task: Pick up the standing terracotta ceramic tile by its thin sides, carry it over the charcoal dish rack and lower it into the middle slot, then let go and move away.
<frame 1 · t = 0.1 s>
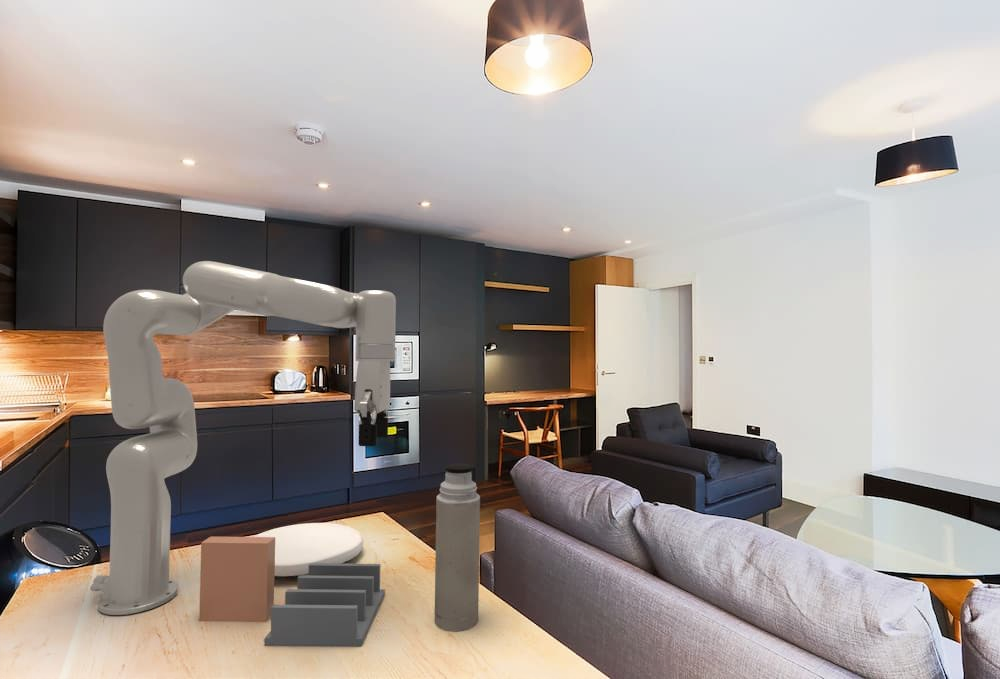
hand: (373, 441, 99), 31 cm above the table, tool pointing down, fingers open, 9 cm apart
dish rack: (330, 618, 92), on the table
plate: (302, 560, 118), on the table
thermos bottle: (456, 620, 92), on the table
tile: (237, 617, 92), on the table
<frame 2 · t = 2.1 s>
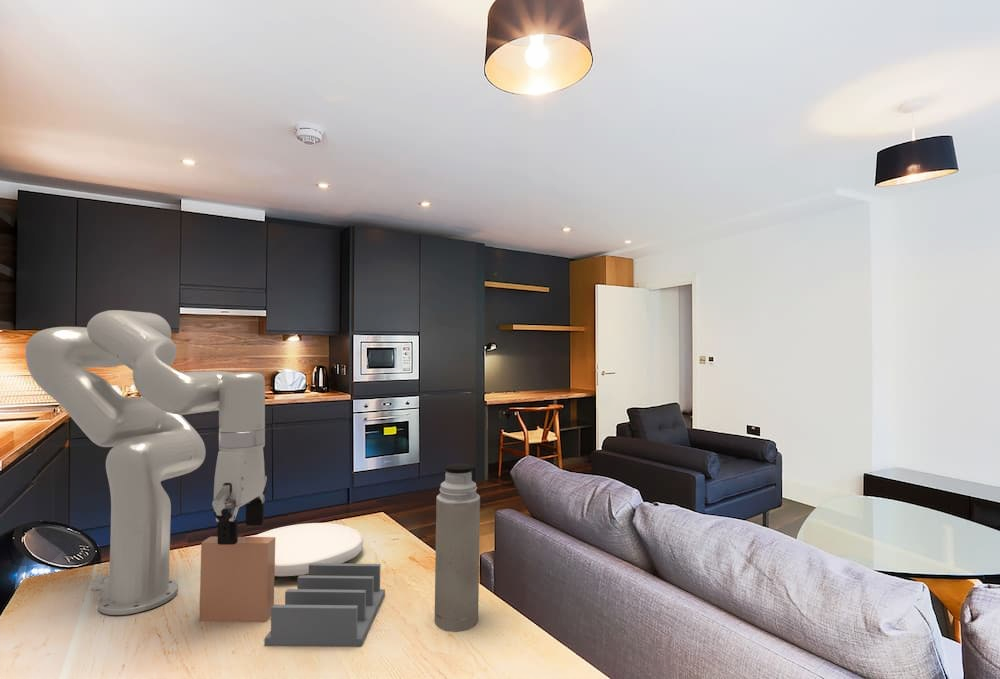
hand: (241, 533, 92), 15 cm above the table, tool pointing down, fingers open, 9 cm apart
nothing on the table moved.
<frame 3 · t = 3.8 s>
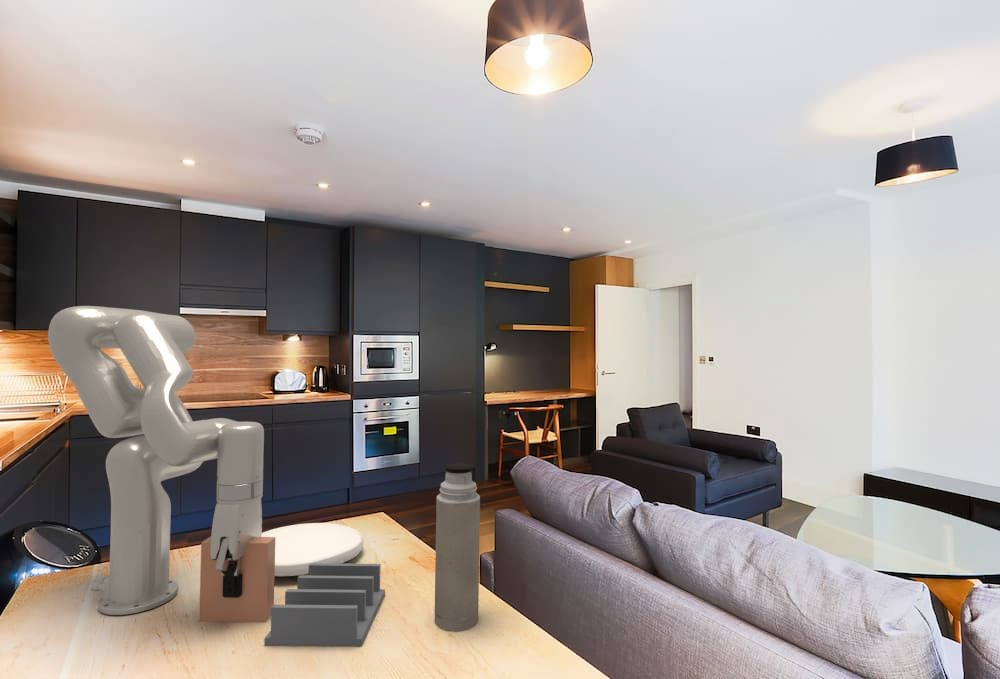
hand: (237, 590, 92), 5 cm above the table, tool pointing down, fingers closed on tile, 3 cm apart
tile: (237, 617, 92), on the table, touching gripper
everything else where it was.
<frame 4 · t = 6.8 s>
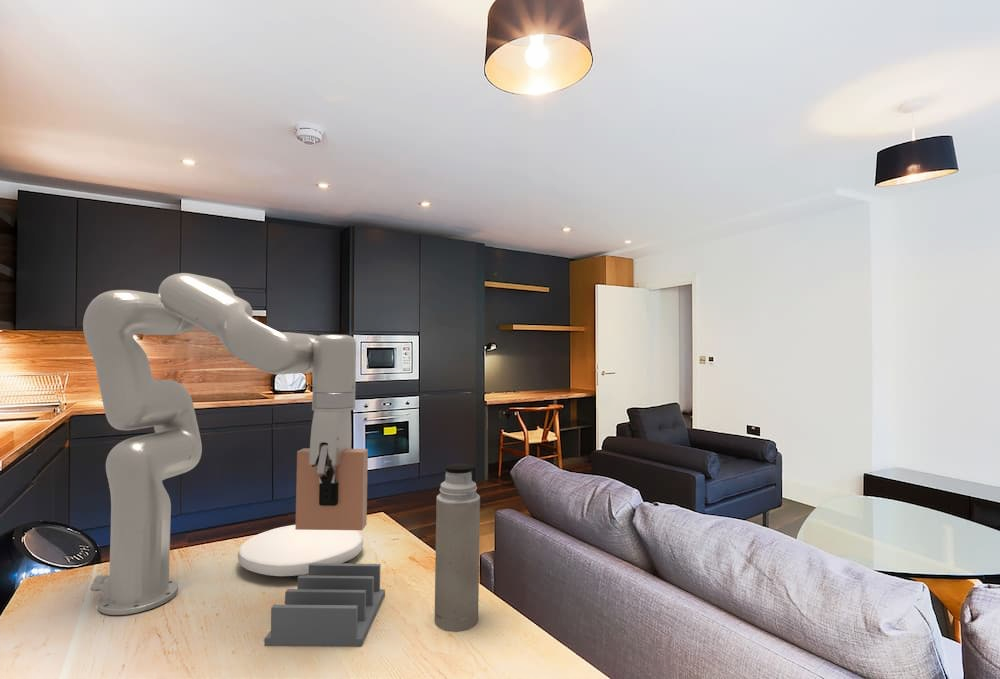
hand: (331, 501, 93), 21 cm above the table, tool pointing down, fingers closed on tile, 3 cm apart
tile: (331, 527, 93), point 16 cm above the table, touching gripper
everything else where it was.
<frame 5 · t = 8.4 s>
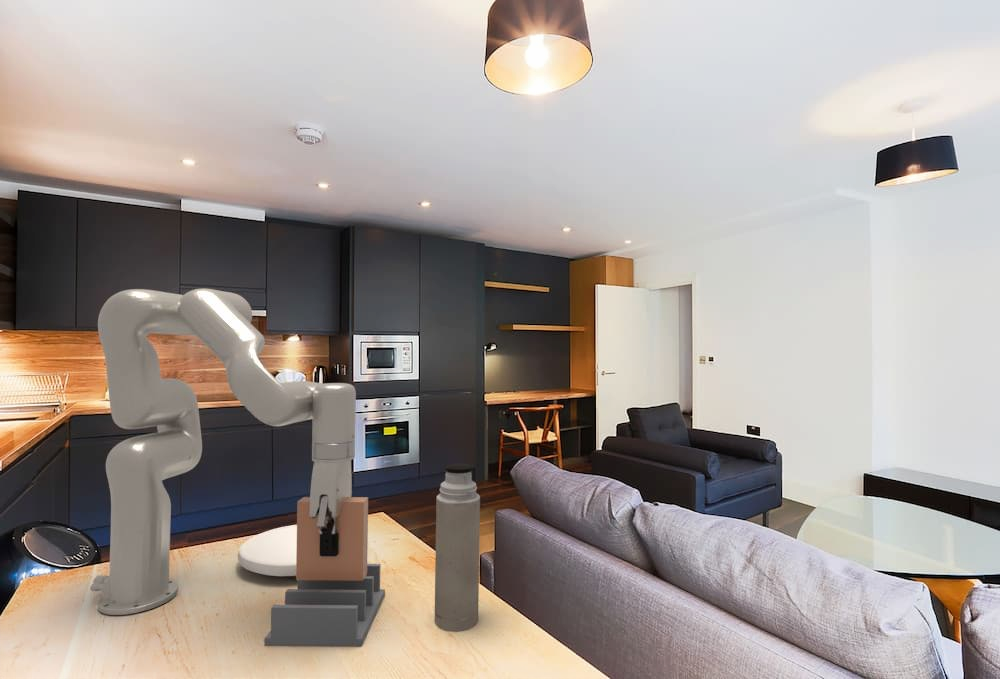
hand: (332, 550, 93), 12 cm above the table, tool pointing down, fingers closed on tile, 3 cm apart
tile: (332, 576, 92), point 7 cm above the table, touching gripper
everything else where it was.
when the fingers open (8 cm above the table, at t = 9.9 s): tile drops 2 cm, resting on dish rack.
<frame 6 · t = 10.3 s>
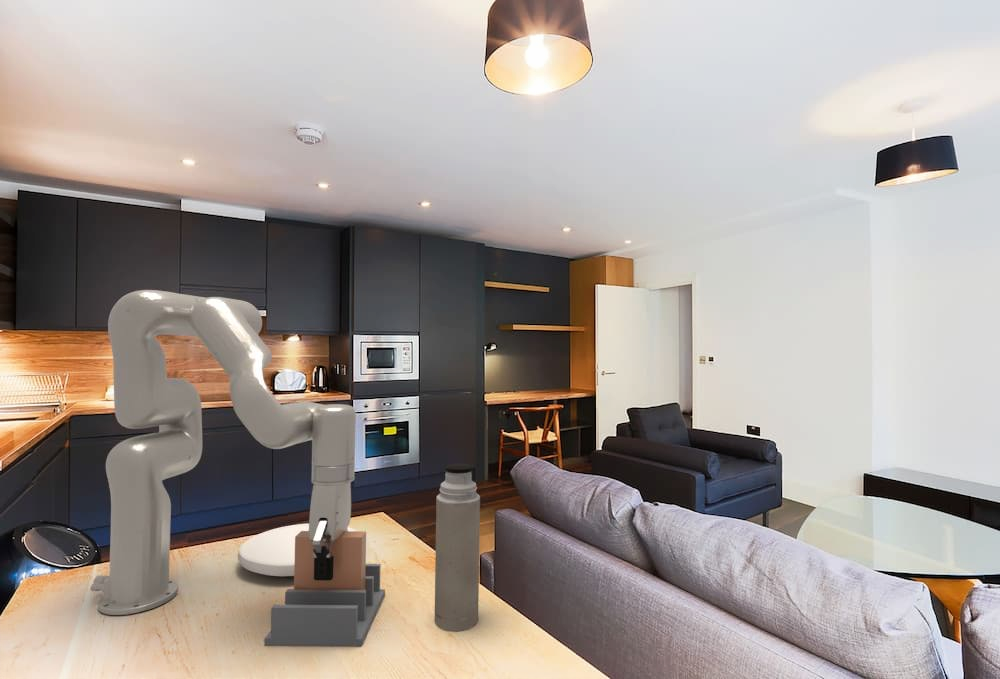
hand: (331, 568, 92), 9 cm above the table, tool pointing down, fingers open, 7 cm apart
tile: (329, 611, 92), point 1 cm above the table, touching dish rack
everything else where it was.
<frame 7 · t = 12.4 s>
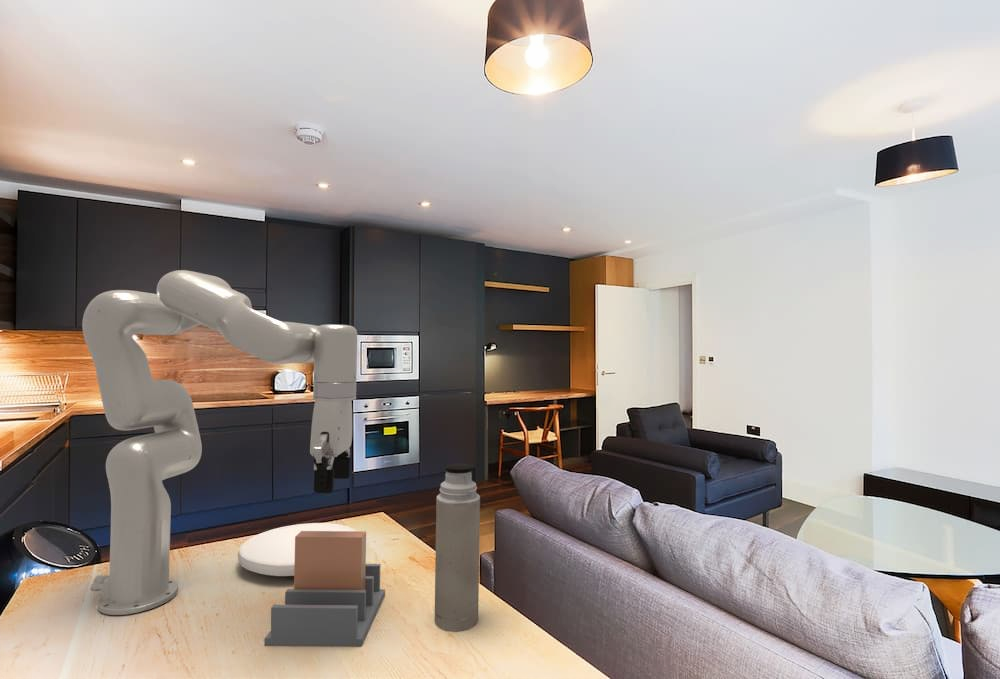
hand: (332, 484, 93), 24 cm above the table, tool pointing down, fingers open, 9 cm apart
nothing on the table moved.
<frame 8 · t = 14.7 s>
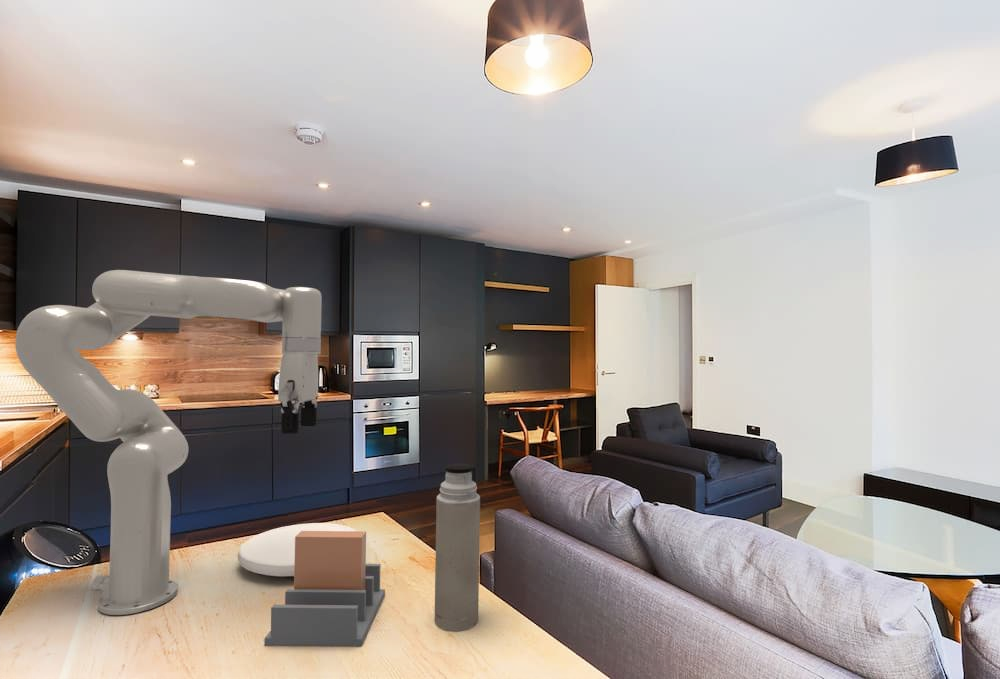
hand: (299, 429, 105), 32 cm above the table, tool pointing down, fingers open, 9 cm apart
nothing on the table moved.
at the end: tile 0.1 cm off-centre on the dish rack, point 1.2 cm above the dish rack's base; tile tilted 0°; the gripper is holding nothing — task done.
